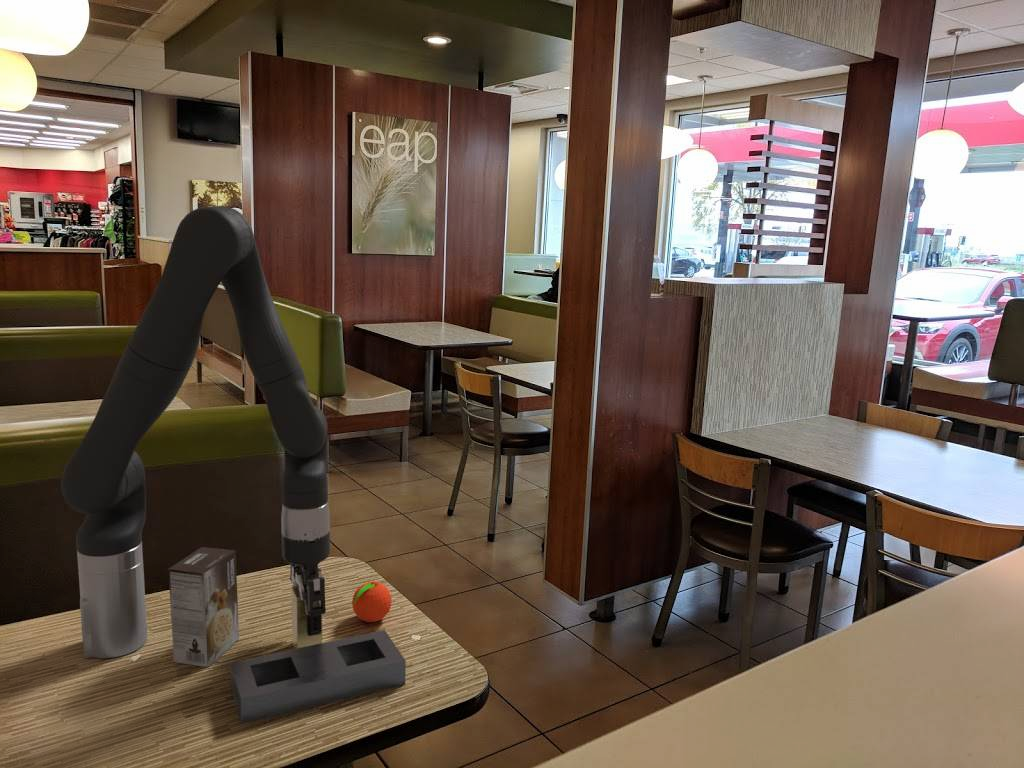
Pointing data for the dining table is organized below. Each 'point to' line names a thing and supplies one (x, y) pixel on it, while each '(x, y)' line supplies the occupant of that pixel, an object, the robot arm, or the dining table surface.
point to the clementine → (371, 601)
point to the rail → (315, 675)
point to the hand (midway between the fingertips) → (307, 621)
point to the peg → (301, 622)
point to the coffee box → (204, 606)
